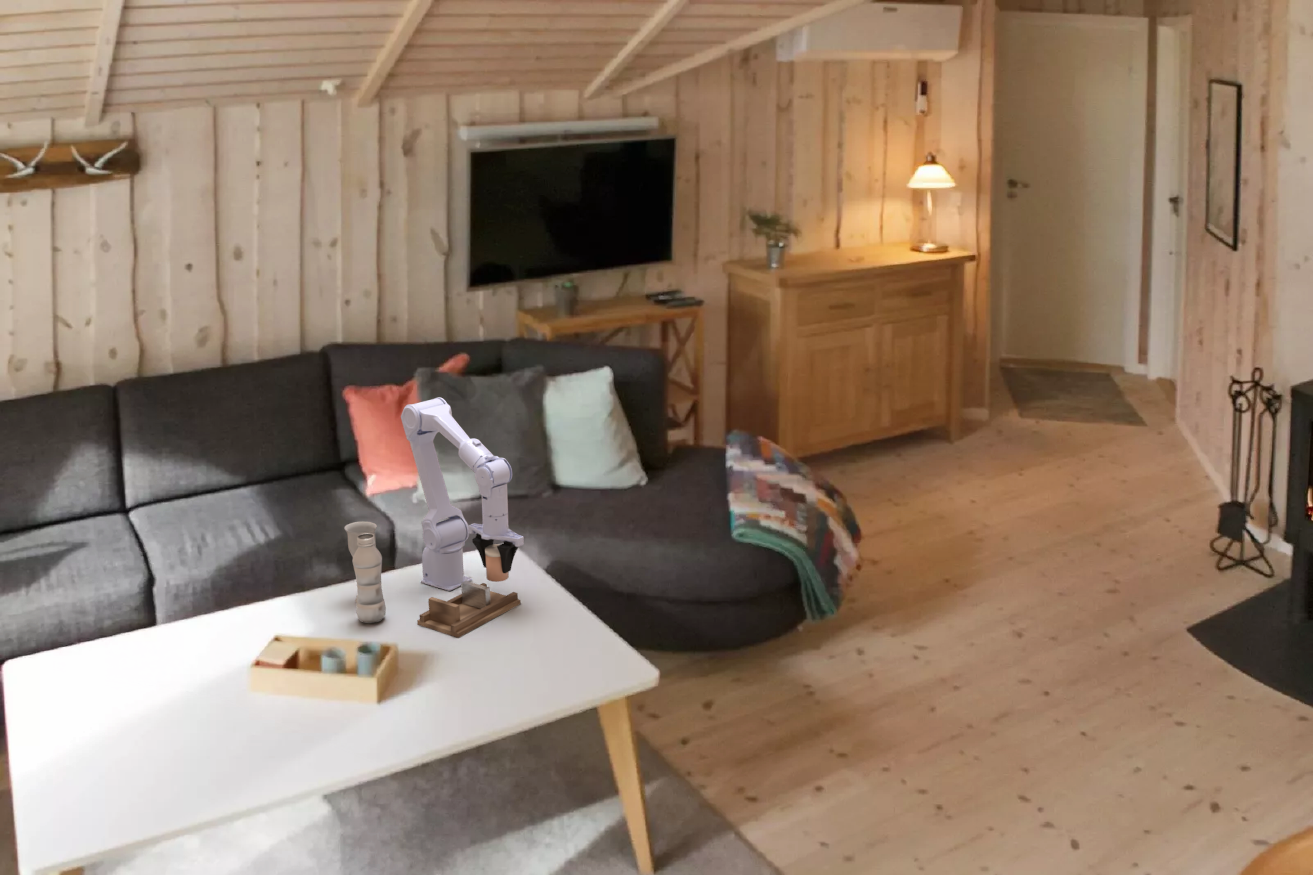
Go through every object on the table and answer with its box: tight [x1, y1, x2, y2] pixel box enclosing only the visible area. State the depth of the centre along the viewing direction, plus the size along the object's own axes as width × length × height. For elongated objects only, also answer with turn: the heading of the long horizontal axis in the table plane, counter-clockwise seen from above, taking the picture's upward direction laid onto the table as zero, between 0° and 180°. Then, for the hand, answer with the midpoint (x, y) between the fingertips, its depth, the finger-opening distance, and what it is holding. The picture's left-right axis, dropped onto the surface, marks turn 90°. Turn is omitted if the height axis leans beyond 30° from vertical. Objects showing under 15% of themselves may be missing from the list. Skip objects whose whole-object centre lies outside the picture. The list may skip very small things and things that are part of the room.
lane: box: [416, 582, 522, 639], centre depth 295 cm, size 12×21×6 cm, turn 146°
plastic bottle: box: [352, 533, 387, 624], centre depth 290 cm, size 6×7×20 cm
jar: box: [485, 543, 510, 583], centre depth 298 cm, size 5×5×7 cm
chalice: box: [344, 521, 378, 604], centre depth 301 cm, size 7×7×18 cm
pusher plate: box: [460, 581, 491, 609], centre depth 297 cm, size 7×2×5 cm, turn 56°
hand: (497, 568), depth 299 cm, fingers closed on jar, 5 cm apart
